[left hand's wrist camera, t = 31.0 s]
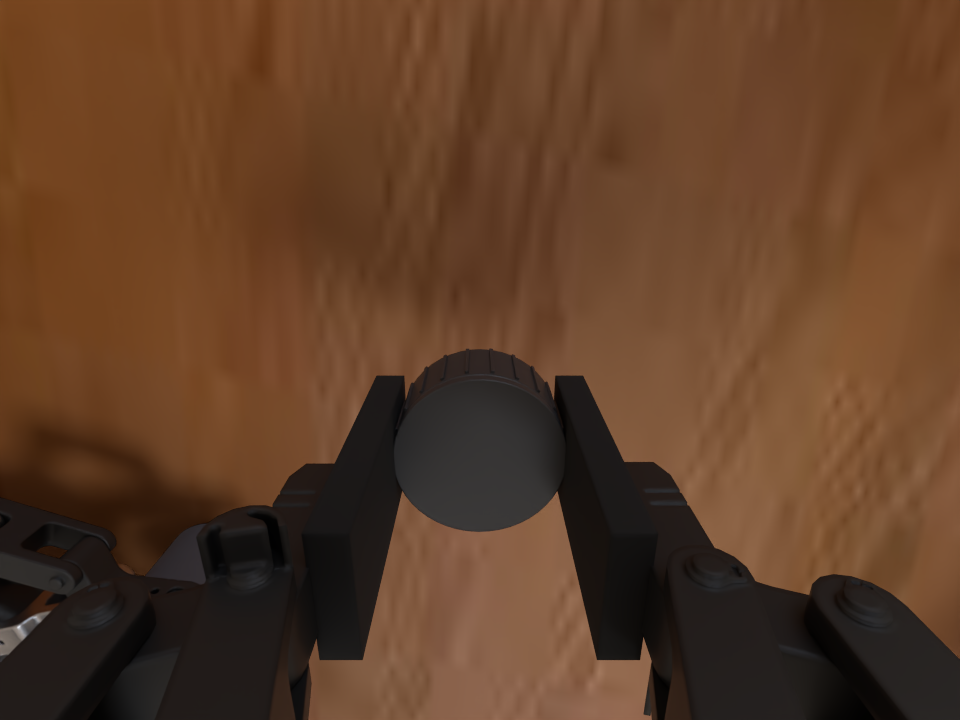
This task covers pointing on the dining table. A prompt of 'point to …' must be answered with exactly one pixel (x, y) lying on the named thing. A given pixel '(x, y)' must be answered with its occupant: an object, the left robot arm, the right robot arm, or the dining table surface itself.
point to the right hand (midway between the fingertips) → (213, 664)
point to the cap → (479, 442)
